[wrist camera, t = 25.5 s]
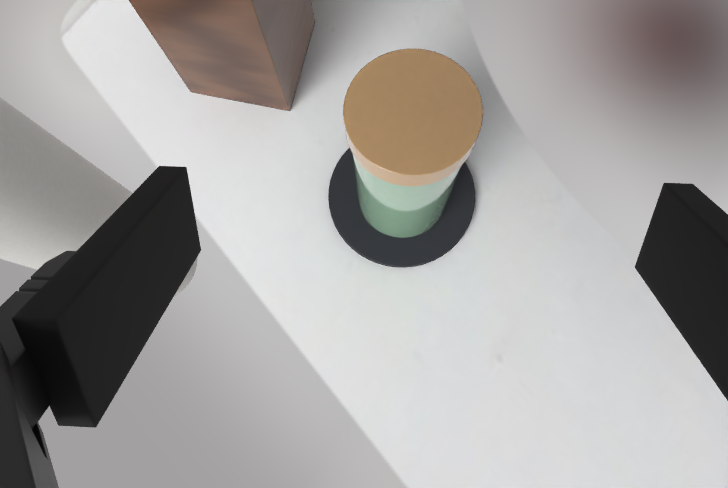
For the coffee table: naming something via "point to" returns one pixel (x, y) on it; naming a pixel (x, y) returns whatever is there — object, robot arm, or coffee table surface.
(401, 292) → the coffee table surface
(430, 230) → the coaster
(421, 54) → the ceramic jar
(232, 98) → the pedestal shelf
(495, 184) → the coffee table surface
